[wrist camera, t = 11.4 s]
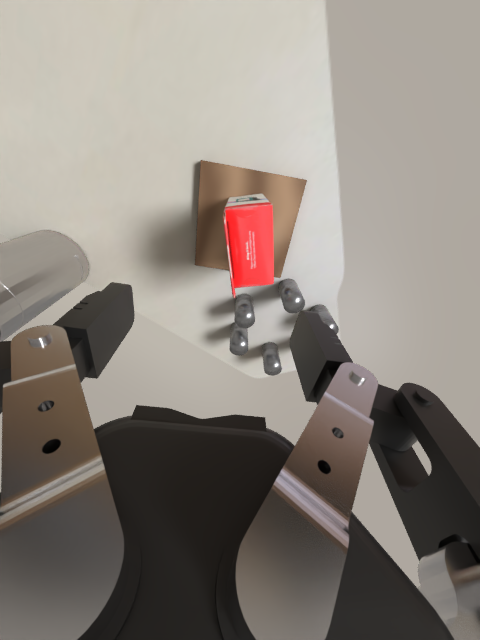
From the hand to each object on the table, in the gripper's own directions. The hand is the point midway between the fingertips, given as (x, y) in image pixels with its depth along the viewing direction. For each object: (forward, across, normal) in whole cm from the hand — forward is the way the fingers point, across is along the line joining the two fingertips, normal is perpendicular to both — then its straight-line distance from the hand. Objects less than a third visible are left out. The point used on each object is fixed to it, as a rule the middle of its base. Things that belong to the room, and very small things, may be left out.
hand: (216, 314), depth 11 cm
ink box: (+27, -3, +1) cm, 27 cm away
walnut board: (+28, -2, +1) cm, 28 cm away
